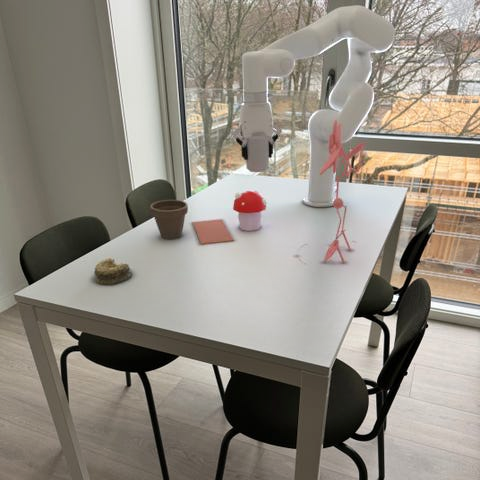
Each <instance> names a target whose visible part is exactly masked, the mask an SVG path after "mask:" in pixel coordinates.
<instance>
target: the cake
mask: <svg viewBox="0 0 480 480" xmlns="http://www.w3.org/2000/svg"><path fill="white" fill-rule="evenodd" d="M93 274H94V282H95V283H97V284H99V285H114V284H115V285H116V284H118V283H121V282H124V281H126V280H127V279H129V278H130V277H131V276H132V275H133V270H132V269H131V268H130V266H129V264H128V263H126V262H124V263H123V262H121V263H119V264H117V263H116V262H115V258H110V257H109V258H106V259H102V260H101V261H100V262H97V264H96V265H95V267H94V271H93Z"/></svg>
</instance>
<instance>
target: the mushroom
mask: <svg viewBox="0 0 480 480" xmlns="http://www.w3.org/2000/svg"><path fill="white" fill-rule="evenodd" d="M234 198H235V199H234V200H233V206H232V210H233V211H235V212H237V213H238V215H237V217H238V223H239V228H240V229H241V230H243V231H251V232H253V231H257V230H259V229H260V228H261V225H262V220H263V214H262V212H264V211H266V210H267V204H268V201H267V199H265V198H264V197H263V196H262V195H261V194H260V193H259V191H258V190H247V191H246V190H245V191H244V192H236V193H235V195H234Z"/></svg>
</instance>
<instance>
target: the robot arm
mask: <svg viewBox="0 0 480 480" xmlns="http://www.w3.org/2000/svg"><path fill="white" fill-rule="evenodd" d="M346 39H347V47H348V62H347V65H346V67H345V68H344V70H343V72H342V74H341V76H340V77H339V79H338V80H337V81H336V83H335V85H334V86H333V88H332V90H331V92H330V94H329V97H328V104H329V106H330V107H331V109H329V108H327V109H325V108H324V109H319V110H316V111H314V112H313V113H312V115H311V116H310V118H309V120H308V125H307V127H308V137H309V162H308V163H309V165H308V166H309V167H308V186H307V188H308V189H307V190H308V191H307V196H305V197H304V198H303V203H304V204H305V205H306V206H309V207H314V208H329V207H334V206H333V201H334V200H335V199H336V196H335V193H336V189H337V186H336V176H337V175H336V174H337V171H336V172H335V173H333V166H332V167H331V168H330V169H329V168H328V169H327V170H326V171H325V172H324V173H323V174H322V175H320V172H321V169H322V167H323V166H324V164H325V162H326V161H327V160H328V158H329V157H330V153H329V148H328V145H329V144H328V143H329V137H330V134H332V133H333V125H334V121H335V120H337V126H338V125H339V124H340V123H341V137H340V139H341V141H342V144H345V143H347V142H348V141H350V140H351V139H352V138H353V137H354V136H355V134H356V132H357V131H358V129H359V128H360V126H361V125H362V123H363V122H364V120H365V119H366V117H367V115H368V114H369V113H370V111H371V109H372V106H373V104H374V100H375V93H374V89H373V88H374V87H372V85H371V84H369V83H368V81H369V79H370V77H371V75H372V70H373V68H372V67H373V66H372V65H373V64H372V56H371V53H383V52H386V51H388V50H389V49H390V48H391V47H392V45H393V44H394V43H395V39H396V31H395V26H394V25H393V24H392V22H391V21H390V20H388V19H387V18H385V17H383V16H382V15H380V14H378V13H377V12H375V11H373V10H372V9H369V8H367V7H366V6H363V5H360V4H359V5H358V4H357V5H347V6H346V5H345V6H340V7H337V8H335V9H333V10H331V11H330V12H328V13H327V14H325V15H323V16H322V17H320V18H318V19H316V20H315V21H313V22H312V23H310V24H309V25H307V26H305V27H303V28H300V29H298V30H296V31H294V32H292V33H290V34H287V35H285V36H282V37H280V38H279V39H277V40H275V41H273V42H271V43H270V44H268V45H267V46H265V47H264V48H262V49H261V50H260V51H247V52H244V53H243V54H242V57H241V70H242V92H243V93H242V94H243V95H242V96H243V102H242V103H241V104H240V110H239V126H238V127H237V128H235V130H233V131H232V132H231V134H230V135H231V137H232V138H233V139H234V141H235V142H236V143H237V144H238V145H239V146H240V147H241V149H240V151H241V158H243V160H244V161H246V160H247V147H246V143H247V139H248V138H250V137H251V136H252V134H259V133H265V135H266V136H267V137H268V138H269V159H270V158H272V157H273V155H274V145H275V143H276V141H277V140H278V139H279V136H280V135H281V134H282V132H283V129H282V128H281V127H279V126H277V125H276V124H275V123H274V119H273V111H272V105H271V102H270V101H269V100H270V99H272V98H273V96H274V94H273V92H269V78H275V79H282V78H287V77H288V76H290V75H291V74H292V72H293V71H294V70H295V66H296V61H300V60H305V59H310V58H314V57H316V56H319V55H320V54H322V53H323V52H325V51H327V50H328V49H330V48H331V47H333V46H334V45H336V44H338V43H340V42H341V41H343V40H346ZM274 130H275V133H274ZM238 135H240V136H241V137H242V138H241V139H240V137H238ZM338 191H339V188H338Z"/></svg>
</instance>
